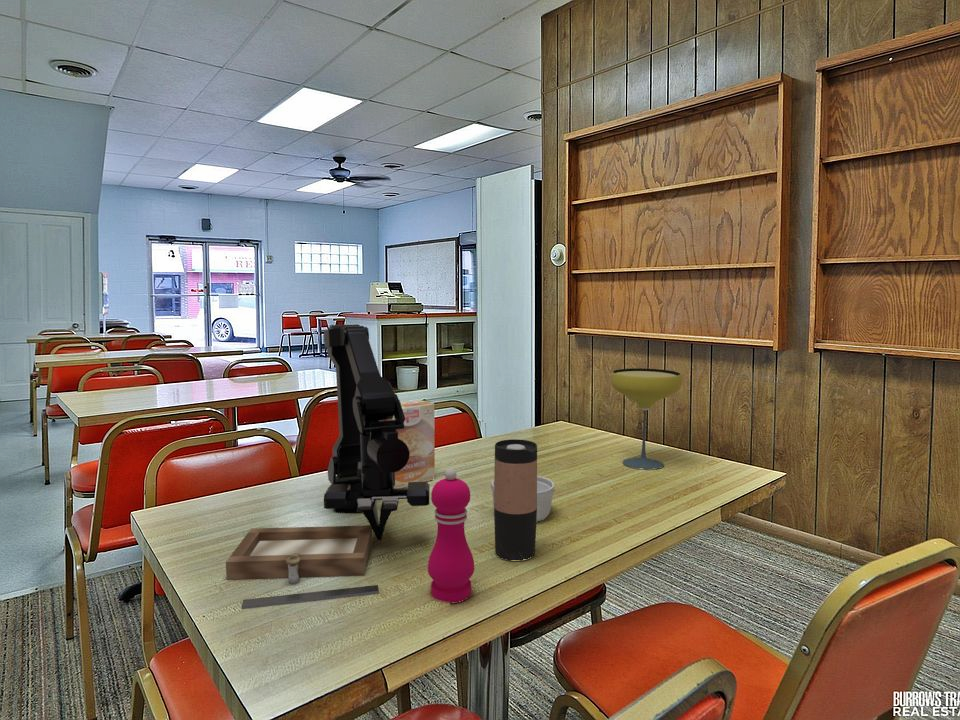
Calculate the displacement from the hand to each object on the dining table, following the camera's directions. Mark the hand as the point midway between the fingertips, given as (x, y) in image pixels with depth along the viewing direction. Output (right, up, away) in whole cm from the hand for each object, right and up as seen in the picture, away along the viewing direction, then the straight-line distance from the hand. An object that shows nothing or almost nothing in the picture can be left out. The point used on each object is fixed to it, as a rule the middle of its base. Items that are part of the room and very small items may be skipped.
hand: (379, 539), depth 114 cm
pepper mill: (+14, -4, -18) cm, 23 cm away
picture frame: (-12, -2, -8) cm, 14 cm away
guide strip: (-7, -4, -20) cm, 21 cm away
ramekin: (+27, 0, +16) cm, 32 cm away
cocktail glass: (+63, +5, +53) cm, 82 cm away
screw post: (-11, -3, -15) cm, 19 cm away
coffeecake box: (0, +3, +37) cm, 37 cm away
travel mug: (+25, -2, -3) cm, 25 cm away
